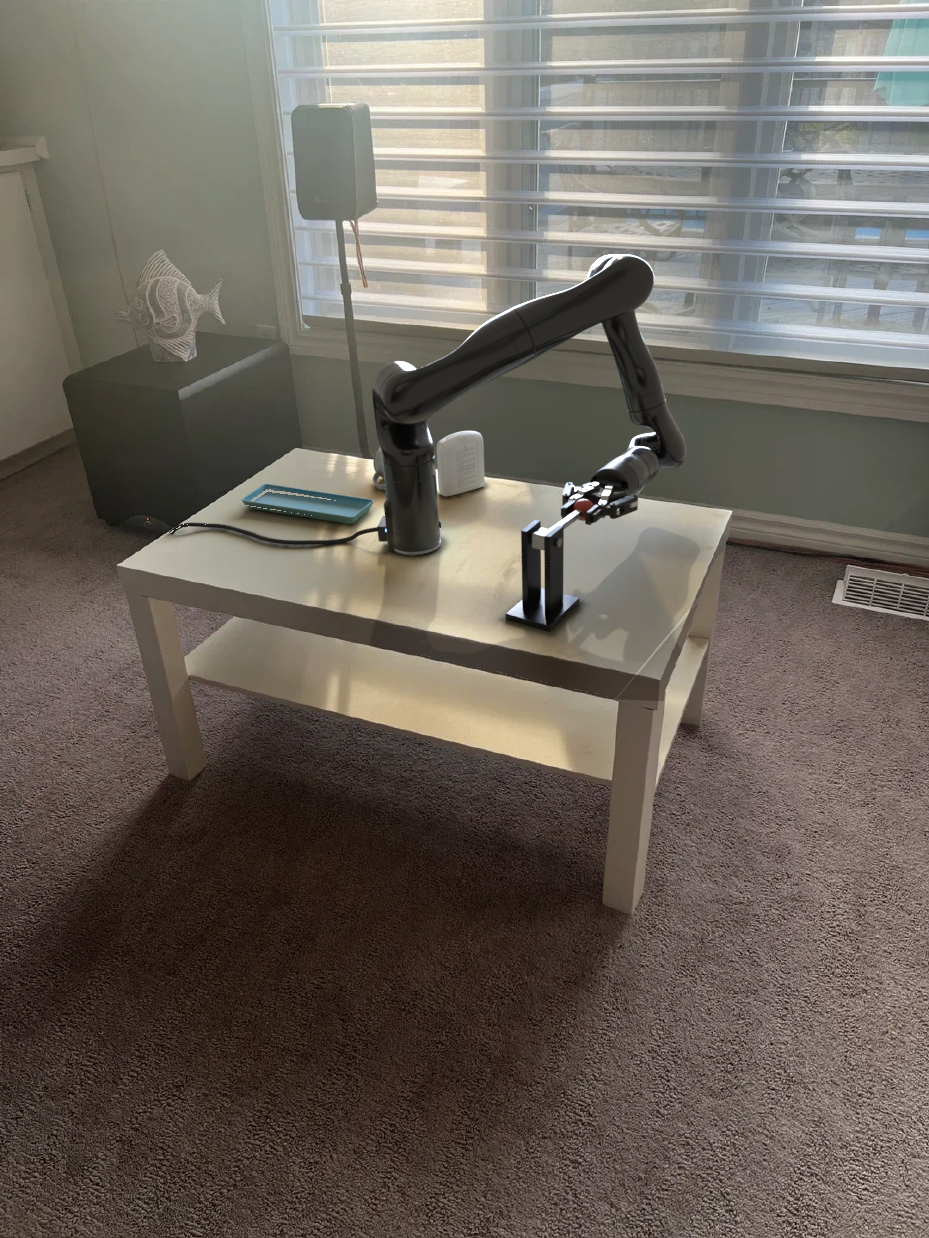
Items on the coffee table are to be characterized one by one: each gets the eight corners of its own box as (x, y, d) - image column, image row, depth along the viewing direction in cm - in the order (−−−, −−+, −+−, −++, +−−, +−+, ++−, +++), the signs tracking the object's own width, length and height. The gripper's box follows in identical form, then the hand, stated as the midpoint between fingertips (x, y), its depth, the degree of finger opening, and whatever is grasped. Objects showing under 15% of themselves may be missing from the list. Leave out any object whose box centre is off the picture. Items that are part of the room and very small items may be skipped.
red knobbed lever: (578, 514, 153) (579, 494, 152) (597, 518, 152) (598, 498, 150) (527, 550, 141) (527, 528, 139) (548, 555, 139) (548, 533, 137)
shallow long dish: (376, 508, 185) (374, 497, 184) (354, 527, 178) (352, 515, 176) (267, 493, 194) (265, 482, 193) (241, 511, 187) (239, 499, 186)
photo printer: (476, 480, 195) (474, 424, 189) (488, 486, 192) (486, 429, 185) (435, 493, 190) (431, 435, 184) (446, 499, 187) (443, 441, 181)
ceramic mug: (391, 470, 202) (387, 437, 198) (423, 475, 199) (420, 441, 195) (364, 488, 195) (360, 454, 190) (396, 494, 191) (392, 459, 187)
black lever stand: (536, 592, 152) (535, 511, 145) (579, 604, 148) (581, 520, 141) (505, 620, 145) (502, 535, 138) (550, 632, 141) (550, 546, 134)
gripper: (584, 454, 162) (536, 487, 150) (659, 467, 155) (616, 503, 143) (583, 493, 166) (537, 529, 154) (657, 507, 159) (614, 546, 147)
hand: (575, 516), depth 148 cm, fingers closed on red knobbed lever, 3 cm apart
